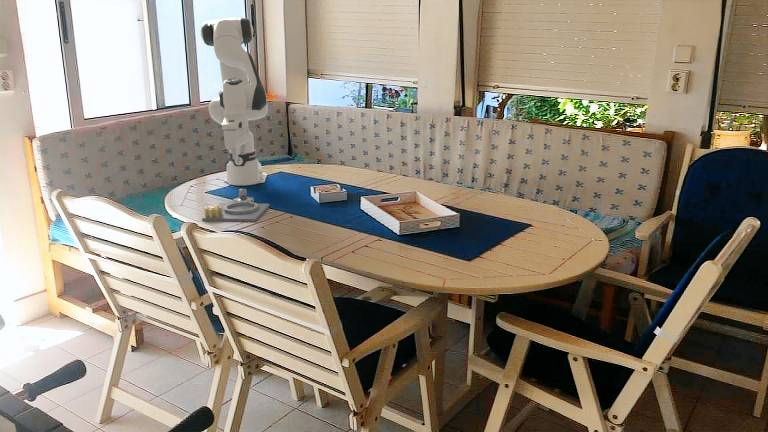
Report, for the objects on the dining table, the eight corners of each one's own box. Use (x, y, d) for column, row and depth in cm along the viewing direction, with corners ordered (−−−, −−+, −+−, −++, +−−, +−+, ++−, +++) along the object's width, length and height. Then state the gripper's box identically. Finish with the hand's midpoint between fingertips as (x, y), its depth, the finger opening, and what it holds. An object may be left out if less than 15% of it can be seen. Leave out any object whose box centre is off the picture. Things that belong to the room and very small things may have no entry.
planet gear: (236, 199, 260) (235, 186, 258) (256, 200, 259) (255, 187, 257) (230, 205, 252) (228, 192, 250) (250, 205, 251) (249, 192, 249)
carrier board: (220, 205, 252) (219, 195, 251) (269, 206, 250) (269, 196, 249) (201, 220, 233) (200, 210, 232) (255, 221, 231) (254, 211, 230)
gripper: (237, 117, 255) (239, 151, 259) (219, 125, 236) (223, 162, 240) (252, 117, 255) (254, 151, 259) (236, 125, 235) (239, 162, 239)
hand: (239, 156), depth 249 cm, fingers open, 8 cm apart
